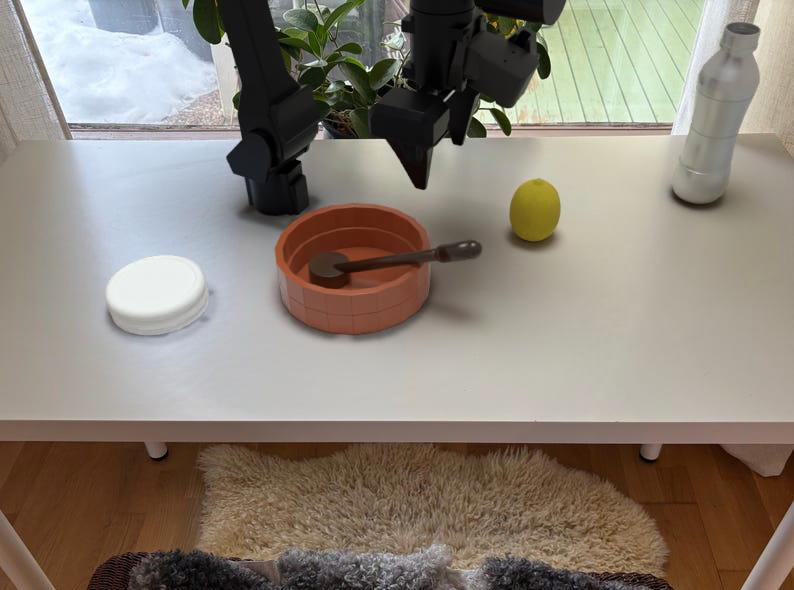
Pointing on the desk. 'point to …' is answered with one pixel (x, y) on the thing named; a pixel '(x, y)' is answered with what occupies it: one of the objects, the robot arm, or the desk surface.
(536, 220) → the lemon
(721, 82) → the plastic bottle
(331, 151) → the desk surface
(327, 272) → the brown utensil
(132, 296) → the white round lid
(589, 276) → the desk surface
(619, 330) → the desk surface
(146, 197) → the desk surface
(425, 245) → the bowl
